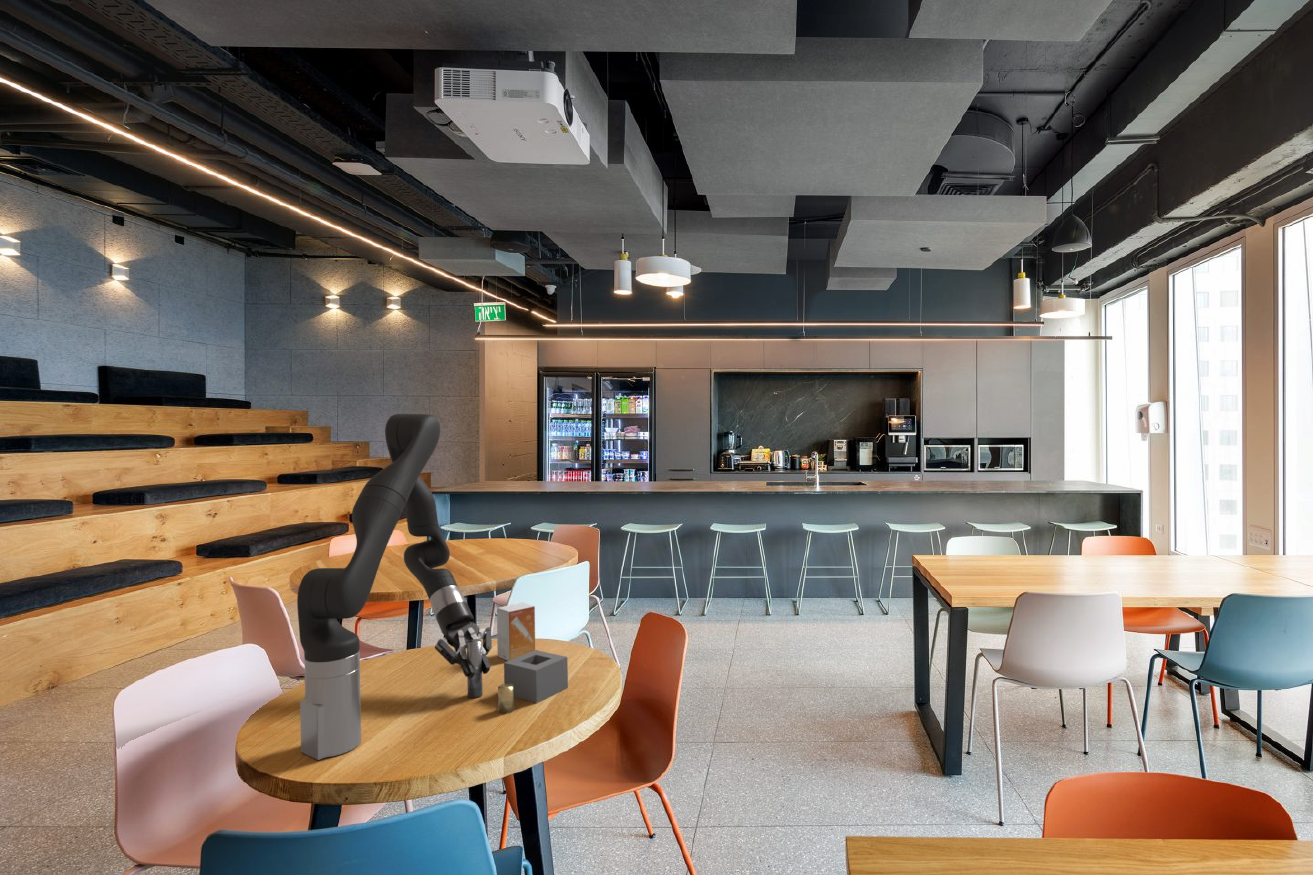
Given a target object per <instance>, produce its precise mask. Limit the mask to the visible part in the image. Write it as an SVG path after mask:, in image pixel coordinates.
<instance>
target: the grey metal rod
mask: <svg viewBox="0 0 1313 875" xmlns="http://www.w3.org/2000/svg"><path fill="white" fill-rule="evenodd" d="M482 646H483V639H481V638H479V639H472V640H469V641H467V648H466V654H467V659H469V660H470V663H471V665H472V667H473V670H474V672H475V674H474V676H473V677H472V678H470V679H468V677H466V678H467V680H466V682H467V685H466V686H467V687H466V688H467V697H468V698H469V699H476V698H479V697H480V698H481V697H482V696H483V672H482Z"/></svg>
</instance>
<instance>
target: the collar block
mask: <svg viewBox="0 0 1313 875" xmlns="http://www.w3.org/2000/svg"><path fill="white" fill-rule="evenodd" d="M568 667H569V666H568V656H564V655H560V654H556V653H551V652H546V651H541V650H537V649H535V650H534V651H532V652H529V653H527V654H524V655H522V656H519V657H517V658H514V659H512V660H509V661H507V660H506V661H505V662H503V677H504V678H503V679H504V680H503V682H504V683H503V684H513V685H514V698H516V699H522V700H524V701H528V702H532V703H535V704H539V703H540V702H542V701H544V700H546V699H548V698H550V697H552V696H554V695H556V694H558V693H561V692H562V691H564V690H566V689H568V688H569V672H568V671H569V668H568Z"/></svg>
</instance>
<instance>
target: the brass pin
mask: <svg viewBox="0 0 1313 875" xmlns="http://www.w3.org/2000/svg"><path fill="white" fill-rule="evenodd" d="M497 686H498V687H497V698H498V699H497V700H498V702H497V703H498V706H497V707H498V713H499V714H503V715H505V714H506V715H507V714H510V713H513V712H515V697H514V685H513V684H504V683H503V684H500V685H497Z"/></svg>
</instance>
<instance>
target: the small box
mask: <svg viewBox="0 0 1313 875" xmlns="http://www.w3.org/2000/svg"><path fill="white" fill-rule="evenodd" d="M535 610H536V608H535V605H532V604H529V603H526V602H519V603H514V604H508V605H505V606H500V607H496V630H497V631H496V632H497V633H496V634H497V635H496V637H497V638H496V639H497V657H499V658H501V659H503V660H505V661H506V662H507V661H509V660H512V659H514V658H517V657H519V656H522V655H524V654H527V653H529V652H532V651H534V650H536V611H535Z"/></svg>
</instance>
